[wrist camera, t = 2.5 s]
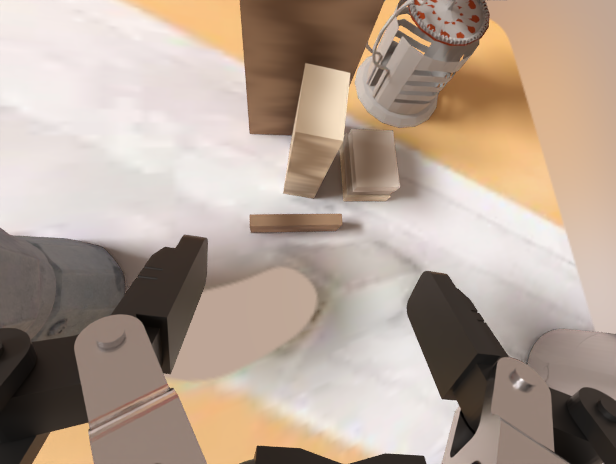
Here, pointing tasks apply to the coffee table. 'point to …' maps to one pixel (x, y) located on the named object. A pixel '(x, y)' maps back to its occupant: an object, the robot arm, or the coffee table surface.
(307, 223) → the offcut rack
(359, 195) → the offcut stack
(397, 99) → the french press
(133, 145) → the coffee table surface
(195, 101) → the coffee table surface
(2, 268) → the moka pot
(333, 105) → the light wooden block
